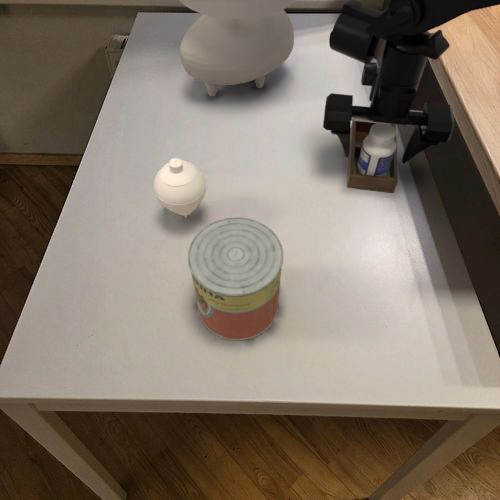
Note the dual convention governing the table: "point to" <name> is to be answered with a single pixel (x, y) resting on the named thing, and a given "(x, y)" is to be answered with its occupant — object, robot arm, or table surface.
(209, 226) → the canned food
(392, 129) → the pill bottle
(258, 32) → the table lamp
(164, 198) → the spinning top
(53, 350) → the table surface
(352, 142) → the holder
